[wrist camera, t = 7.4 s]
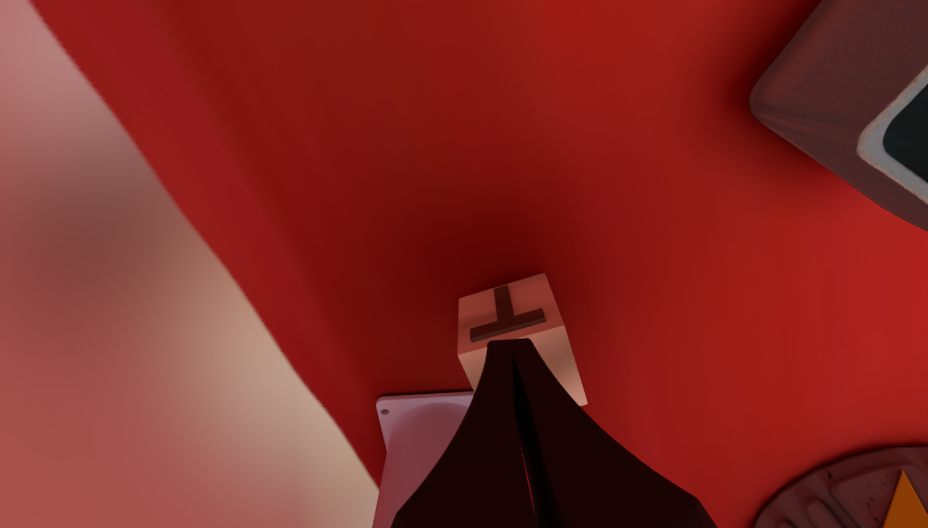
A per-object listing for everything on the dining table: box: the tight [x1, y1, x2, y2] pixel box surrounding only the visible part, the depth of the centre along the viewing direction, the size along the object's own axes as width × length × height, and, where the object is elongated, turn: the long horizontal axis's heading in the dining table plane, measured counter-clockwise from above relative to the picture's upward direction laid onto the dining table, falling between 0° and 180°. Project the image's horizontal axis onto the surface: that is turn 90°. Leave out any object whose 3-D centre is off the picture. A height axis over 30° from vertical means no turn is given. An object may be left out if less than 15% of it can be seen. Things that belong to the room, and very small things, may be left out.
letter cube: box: [458, 273, 588, 406], centre depth 21 cm, size 5×5×5 cm
